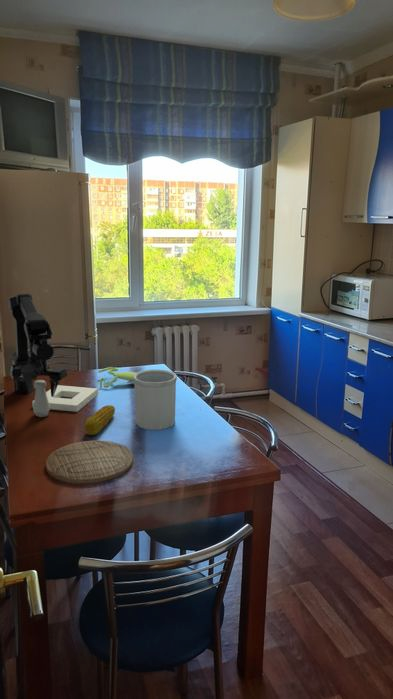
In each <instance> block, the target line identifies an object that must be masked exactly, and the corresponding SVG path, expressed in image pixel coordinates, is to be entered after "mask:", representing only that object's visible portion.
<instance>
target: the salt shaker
mask: <svg viewBox="0 0 393 699" xmlns="http://www.w3.org/2000/svg"><path fill="white" fill-rule="evenodd" d="M46 387H47V381H45V380H43V379H36V380H35V381H34V382H33V388H34V389H35V393H34V400H33V401H34V407H33V406H32V411H33V412H34V415H35V416H36V417H37V416H38V417H39V418H43V417H47V416H48V415H49V413H50V410H51V409H50V406H49V402H48V398H47V395H46V392H47V391H46ZM38 417H37V418H38Z"/></svg>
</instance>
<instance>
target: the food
mask: <svg viewBox="0 0 393 699" xmlns="http://www.w3.org/2000/svg"><path fill="white" fill-rule="evenodd" d="M115 413H116V408H115V406H114V405H112V404H111V405H109V404H107V405H104V406H102V407H101V408H99V409H98V410H97V411H96V412H94V413H93V414H92V415H91V416H89V417H88V418H87V419H86V420H85V422H84V426H83V427H84V429H83V430H84V432H85V434H86V435H89V436H95V435H97V434H99V433H100V432H101V430H103V428H104V427H105V426H106V425H107V424H109V421H111V420H112V419H113V417H114V415H115Z"/></svg>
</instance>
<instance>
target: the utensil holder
mask: <svg viewBox="0 0 393 699" xmlns="http://www.w3.org/2000/svg"><path fill="white" fill-rule="evenodd" d="M135 373H136V374H135V375H134V377H133V378H134V381H133V383H134V384H133V385H134V406H135V407H134V408H135V409H134V410H135V412H134V413H135V422H136V425H137V426H138V427H139V428H140V429H145V430H148V431H159V430H161V431H162V430H166V429H169V428H171V427H172V426H174V425H175V423H176V401H177V400H176V396H177V394H176V393H177V392H176V391H177V389H176V388H177V387H176V386H177V377H178V376H177V374H176V373H175V372H174V371H172V370H167V369H146V370H145V369H144V370H141V371H138V372H135Z"/></svg>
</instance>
